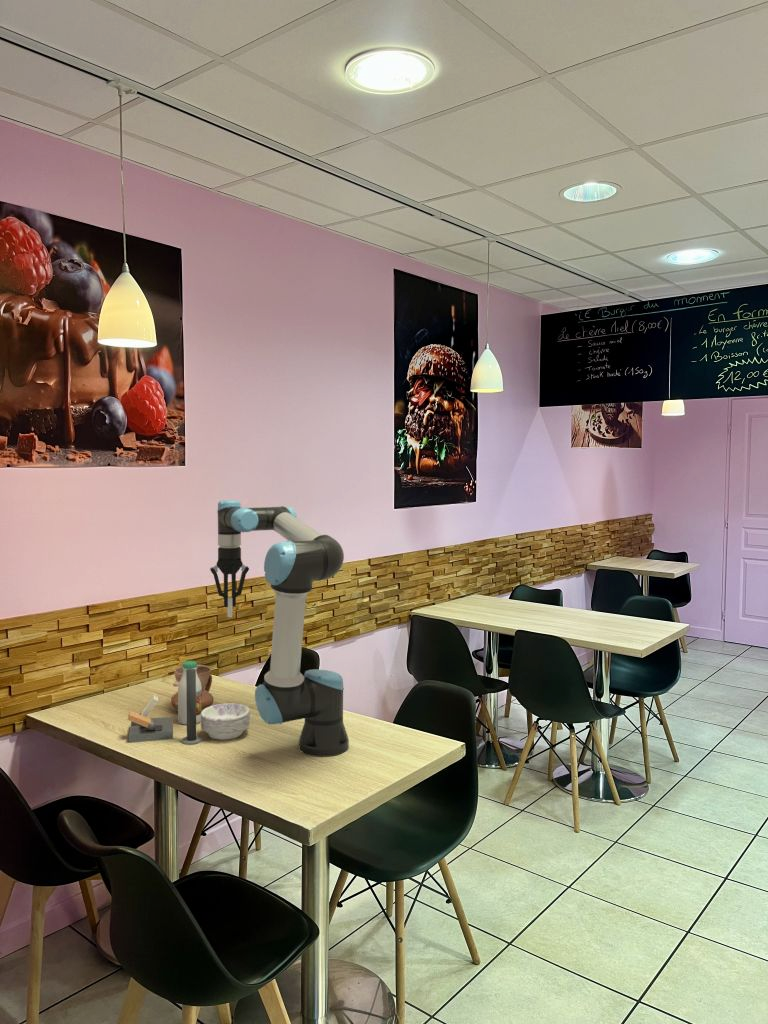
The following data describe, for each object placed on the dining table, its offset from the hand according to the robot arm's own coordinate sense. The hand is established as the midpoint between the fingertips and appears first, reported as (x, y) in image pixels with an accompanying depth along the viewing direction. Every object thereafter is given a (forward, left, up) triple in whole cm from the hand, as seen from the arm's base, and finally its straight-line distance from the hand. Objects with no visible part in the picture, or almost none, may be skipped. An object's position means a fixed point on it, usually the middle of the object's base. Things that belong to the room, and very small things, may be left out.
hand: (229, 616), depth 254 cm
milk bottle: (-1, +13, -35) cm, 37 cm away
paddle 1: (-5, +28, -31) cm, 42 cm away
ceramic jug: (+12, +12, -35) cm, 39 cm away
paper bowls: (-17, +3, -35) cm, 39 cm away
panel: (-9, +25, -34) cm, 44 cm away
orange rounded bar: (-12, +25, -31) cm, 41 cm away
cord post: (-20, +13, -34) cm, 42 cm away
